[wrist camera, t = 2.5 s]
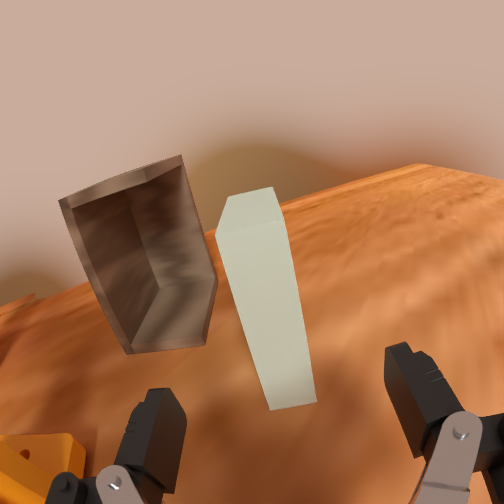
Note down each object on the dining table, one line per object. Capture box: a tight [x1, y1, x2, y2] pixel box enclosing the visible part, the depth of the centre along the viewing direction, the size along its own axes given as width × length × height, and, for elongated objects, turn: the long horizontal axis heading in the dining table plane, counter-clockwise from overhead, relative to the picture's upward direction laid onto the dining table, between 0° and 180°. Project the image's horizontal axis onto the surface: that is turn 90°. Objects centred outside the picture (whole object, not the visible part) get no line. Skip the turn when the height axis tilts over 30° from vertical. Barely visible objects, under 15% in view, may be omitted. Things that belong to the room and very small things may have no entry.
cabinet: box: [58, 155, 218, 354], centre depth 33 cm, size 15×14×18 cm
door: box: [215, 187, 317, 411], centre depth 22 cm, size 4×9×14 cm, turn 2°
